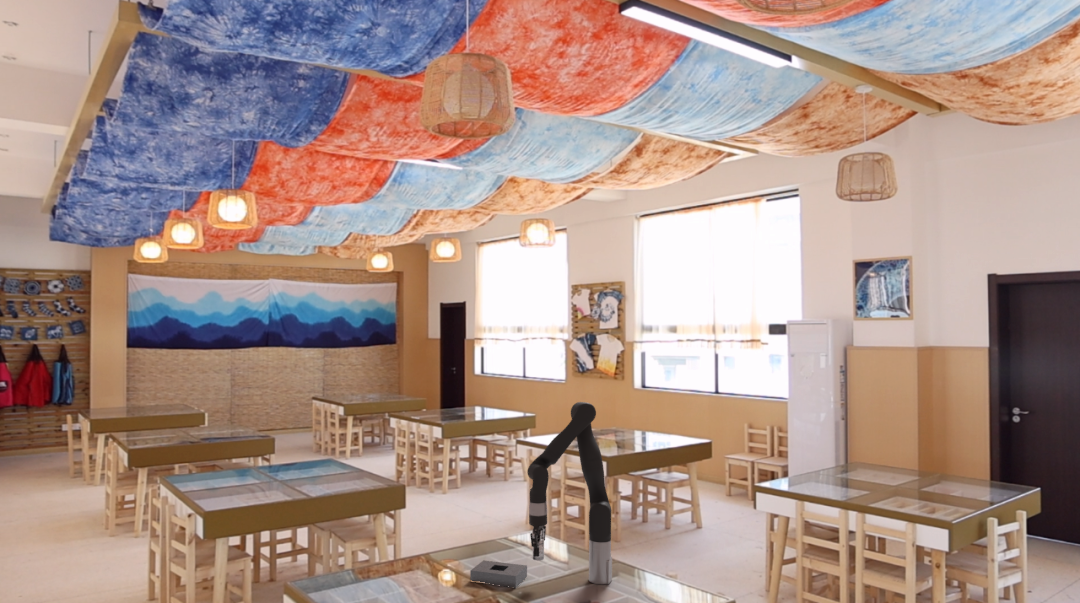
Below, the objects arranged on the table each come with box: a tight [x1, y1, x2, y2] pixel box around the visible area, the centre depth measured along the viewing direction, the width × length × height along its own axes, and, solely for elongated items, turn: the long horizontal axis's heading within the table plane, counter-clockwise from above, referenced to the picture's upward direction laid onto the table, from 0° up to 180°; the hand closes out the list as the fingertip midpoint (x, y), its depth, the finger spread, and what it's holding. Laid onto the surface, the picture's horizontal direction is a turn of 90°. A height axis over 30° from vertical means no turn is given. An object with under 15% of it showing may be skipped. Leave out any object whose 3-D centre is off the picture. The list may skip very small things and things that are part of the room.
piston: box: [532, 538, 545, 561], centre depth 308 cm, size 5×5×8 cm
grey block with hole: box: [469, 560, 528, 589], centre depth 313 cm, size 20×14×5 cm
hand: (538, 554), depth 308 cm, fingers closed on piston, 4 cm apart
